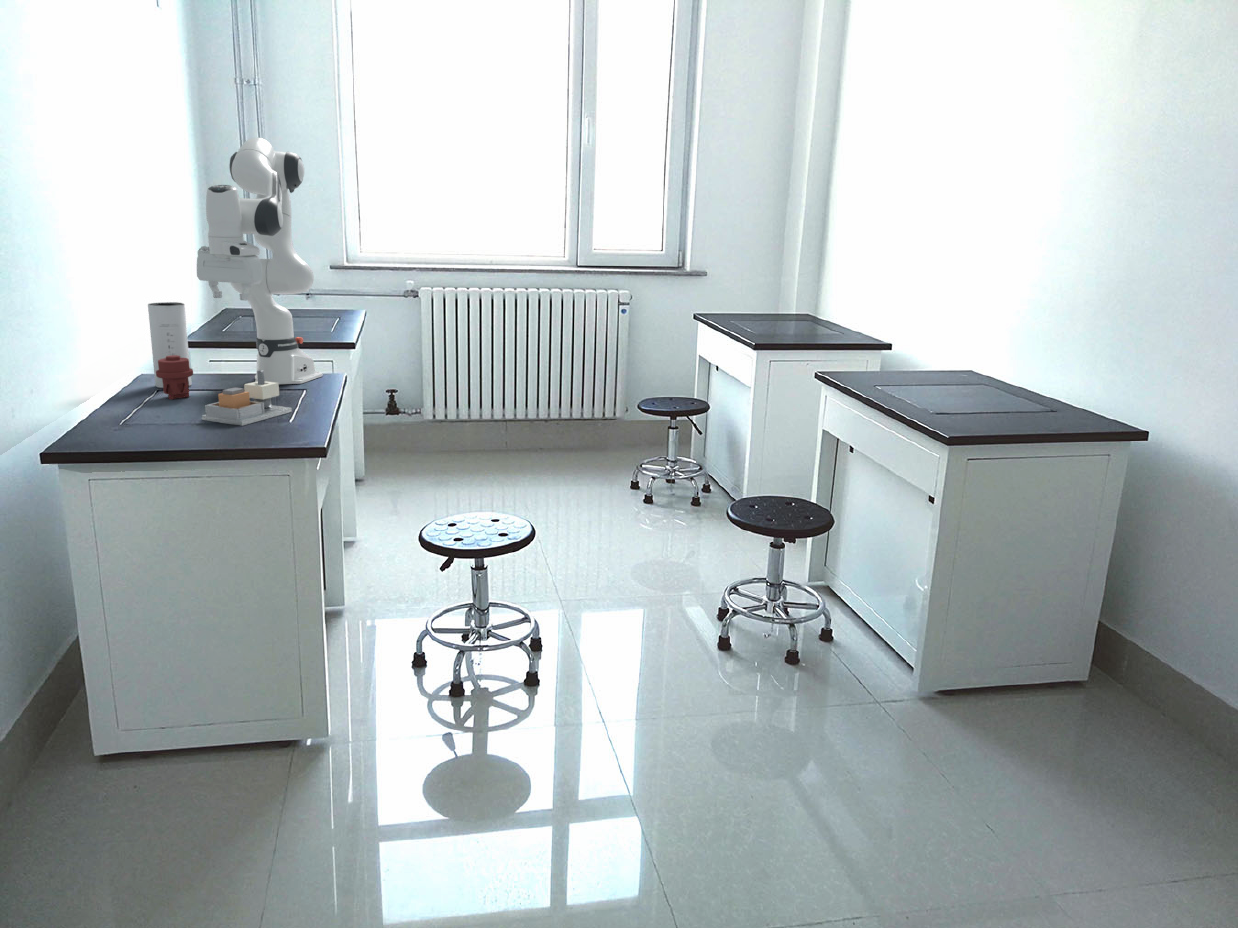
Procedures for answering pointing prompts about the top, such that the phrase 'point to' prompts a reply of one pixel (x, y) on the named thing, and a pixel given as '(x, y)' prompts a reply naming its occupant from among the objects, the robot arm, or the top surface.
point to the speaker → (167, 333)
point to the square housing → (262, 390)
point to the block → (234, 398)
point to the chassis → (245, 410)
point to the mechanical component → (175, 376)
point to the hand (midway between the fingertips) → (231, 299)
